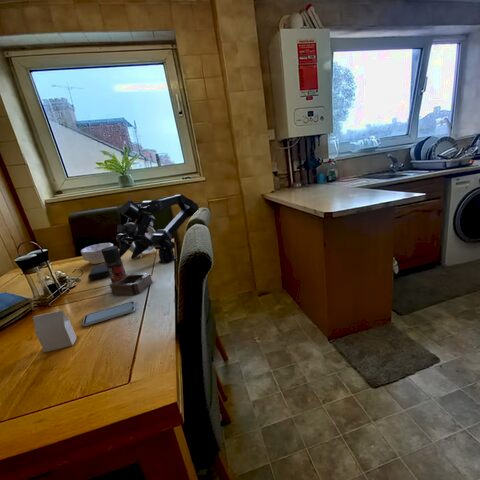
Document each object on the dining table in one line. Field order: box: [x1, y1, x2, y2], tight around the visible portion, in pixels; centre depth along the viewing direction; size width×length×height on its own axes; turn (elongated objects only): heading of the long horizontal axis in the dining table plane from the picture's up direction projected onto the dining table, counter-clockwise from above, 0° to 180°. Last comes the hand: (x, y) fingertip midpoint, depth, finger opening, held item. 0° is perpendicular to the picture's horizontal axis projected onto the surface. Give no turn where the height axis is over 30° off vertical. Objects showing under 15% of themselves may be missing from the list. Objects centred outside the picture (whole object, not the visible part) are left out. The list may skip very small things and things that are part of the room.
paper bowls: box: [80, 242, 114, 265], centre depth 148 cm, size 15×15×8 cm
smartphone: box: [82, 301, 136, 327], centre depth 90 cm, size 7×1×15 cm
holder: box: [109, 272, 153, 297], centre depth 108 cm, size 11×11×4 cm
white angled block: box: [32, 309, 78, 353], centre depth 75 cm, size 4×7×10 cm, turn 107°
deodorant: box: [101, 245, 127, 284], centre depth 114 cm, size 6×6×15 cm
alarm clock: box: [123, 217, 157, 259], centre depth 147 cm, size 16×9×22 cm, turn 147°
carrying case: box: [87, 263, 110, 281], centre depth 129 cm, size 11×3×15 cm
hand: (125, 257), depth 118 cm, fingers open, 9 cm apart
